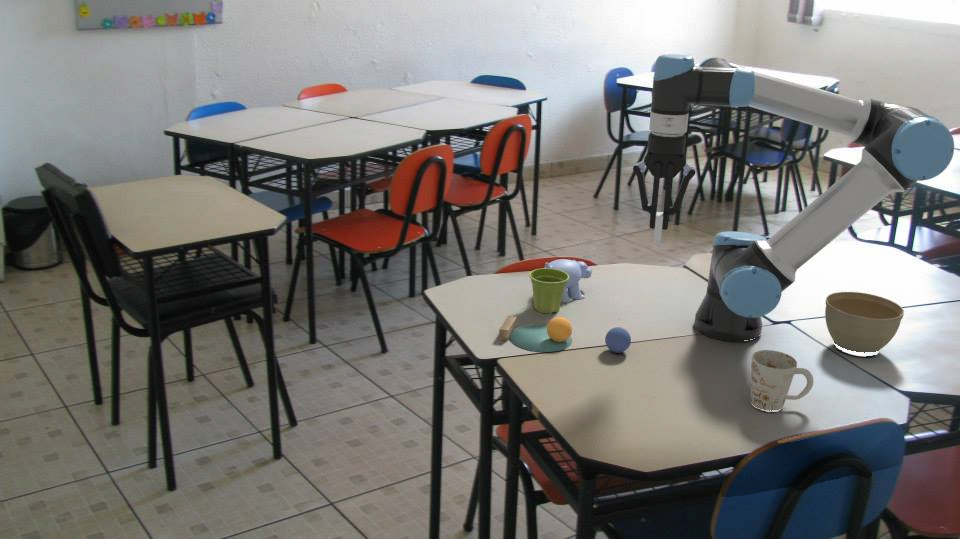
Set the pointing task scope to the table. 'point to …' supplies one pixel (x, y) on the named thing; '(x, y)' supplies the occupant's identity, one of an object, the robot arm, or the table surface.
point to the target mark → (536, 339)
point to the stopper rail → (507, 328)
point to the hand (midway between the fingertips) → (656, 243)
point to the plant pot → (548, 288)
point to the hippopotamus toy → (571, 277)
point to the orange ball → (559, 329)
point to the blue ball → (618, 339)
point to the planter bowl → (862, 320)
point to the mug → (774, 379)
